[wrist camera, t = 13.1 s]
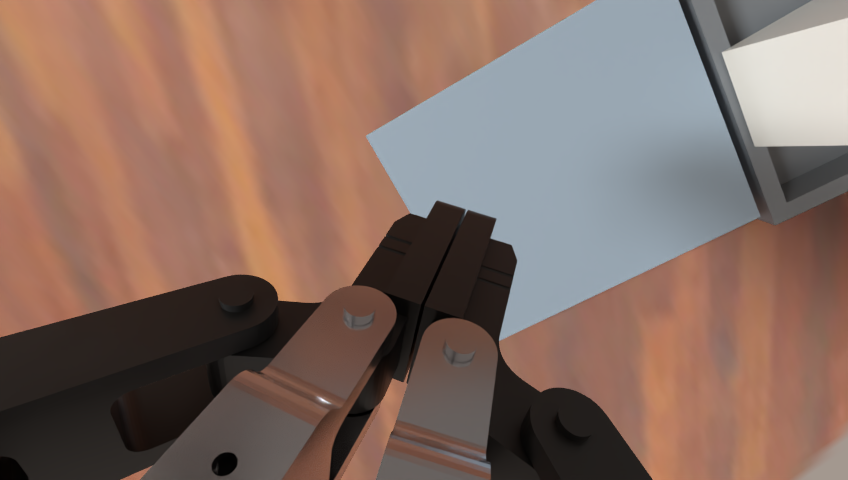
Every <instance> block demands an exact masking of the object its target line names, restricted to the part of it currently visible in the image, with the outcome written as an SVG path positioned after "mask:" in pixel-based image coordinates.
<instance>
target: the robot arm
mask: <svg viewBox="0 0 848 480" xmlns="http://www.w3.org/2000/svg"><path fill="white" fill-rule="evenodd" d="M465 212H466V209H464V208H461V207H457V206H454V205H451V204H448V203H444V202H441V201H438V200H437V201H436V202H435V204H434V206H433V208H432V209H431V211H430V213H429V214H428V216H427V218H424V217H421V216H418V215H414V214H411V213H410V214H408V215H406V216H404V217H403V218H401V219H399V220H397V221H395V222H394V224H393V225H392V227H391V228H390V230H389V231H388V233H387V234H386V237H384V239H383V240H382V242H381V243H380V244H379V247H377V249H376V250H375V252H374V253H373V255H372V256H371V258H370V259H369V261H368V262H367V264H366V265H365V267H364V268H363V270H362V271H361V273H360V274H359V276H358V277H357V278H356V280H355V281H354V283H353V284H352V286H347V287H343V288H340V289H338V290H336V291H334V292H332V293H331V294H330V295H329V296H328V297H327V298H326V299H325V300H324V301H323V302H320V303H301V302H288V301H278V296H277V292H276V290H275V288H274V287H273V286H272V285H271V284H270V283H269V282H267V281H266V280H264V279H262V278H259V277H256V276H252V275H232V276H227V277H223V278H219V279H216V280H212V281H208V282H205V283H201V284H197V285H193V286H190V287H186V288H182V289H179V290H175V291H171V292H167V293H164V294H160V295H156V296H153V297H149V298H145V299H141V300H138V301H134V302H130V303H127V304H123V305H119V306H115V307H112V308H108V309H104V310H101V311H97V312H93V313H90V314H86V315H82V316H78V317H75V318H71V319H67V320H64V321H60V322H56V323H52V324H49V325H45V326H41V327H38V328H34V329H30V330H26V331H23V332H19V333H15V334H12V335H8V336H4V337H0V480H120V479H123V478H125V477H127V476H129V475H132V474H134V473H136V472H139V471H141V470H143V469H145V468H148V467H150V466H152V465H153V466H152V467H151V468H150V469H149V470H148V471H147V473H146V474H145V475H144V476H143V477H142V478H141V479H140V480H340V479H341V478H342V476H343V474H344V472H345V470H346V469H347V467H348V465H349V463H350V461H351V459H352V458H353V456H354V454H355V452H356V450H357V449H358V447H359V445H360V443H361V441H362V439H363V438H364V436H365V434H366V432H367V430H368V429H369V427H370V425H371V423H372V421H373V419H374V418H375V416H376V414H377V412H378V410H379V408H380V403H381V401H382V399H383V397H384V396H385V393H386V391H387V389H388V387H389V385H390V382H391V380H392V378H393V379H396V380H398V381H401V382H404V380H405V377H406V375H407V373H408V370H409V368H410V370H409V374H408V379H407V384H408V385H407V388H406V391H405V394H404V397H403V401H402V404H401V407H400V410H399V414H398V417H397V420H396V423H395V426H394V429H393V431H392V432H391V434H390V437H389V440H388V443H387V446H386V449H385V452H384V455H383V459H382V462H381V465H380V468H379V471H378V474H377V478H376V480H652V478H651V477H650V475H649V474H648V473H647V471H646V470H645V468H644V467H643V465H642V464H641V463H640V461H639V460H638V458H637V457H636V456H635V454H634V453H633V451H632V450H631V449H630V447H629V446H628V444H627V443H626V442H625V440H624V439H623V437H622V436H621V435H620V433H619V432H618V430H617V429H616V428H615V426H614V425H613V423H612V422H611V421H610V419H609V418H608V416H607V415H606V414H605V413H604V411H603V410H602V409H601V408H600V407H599V406H598V405H597V404H596V403H595V402H593V401H592V400H591V399H590V398H588V397H586V396H585V395H583V394H581V393H579V392H577V391H574V390H570V389H566V388H551V389H547V390H545V391H543V392H539V391H538V390H536V389H535V388H533V387H532V386H530V385H529V384H528V383H526V382H525V381H523V380H522V379H521V378H519V377H518V376H517V375H516V374H515V373H514V372H513V371H512V370H511V369H510V368H509V367H508V366H507V364H506V363H505V361H504V359H503V357H502V355H501V352H500V348H499V337H500V333H501V328H502V324H503V320H504V316H505V311H506V307H507V303H508V299H509V294H510V289H511V286H512V282H513V277H514V273H515V269H516V265H517V258H516V255H515V253H514V250H513V247H512V245H510V244H507V243H504V242H500V241H497V240H494V239H491V236H492V232H493V229H494V226H495V223H496V219H497V218H493V217H490V216H487V215H484V214H480V213H477V212H474V211H471V210H468V211H467V212H466V215H465ZM410 365H411V366H410ZM193 368H194V369H193ZM154 382H155V383H154ZM140 387H141V388H140Z"/></svg>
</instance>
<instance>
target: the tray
mask: <svg viewBox="0 0 848 480" xmlns="http://www.w3.org/2000/svg"><path fill="white" fill-rule="evenodd" d="M810 1H812V0H679V3H680V5H681V8H682V11H683V13H684V16H685V19H686V21H687V24H688V27H689V29H690V32H691V34H692V37H693V40H694V42H695V45H696V48H697V50H698V53H699V56H700V58H701V61H702V63H703V66H704V69H705V71H706V74H707V77H708V79H709V82H710V85H711V87H712V90H713V92H714V95H715V98H716V100H717V103H718V106H719V108H720V111H721V114H722V116H723V119H724V121H725V124H726V127H727V129H728V132H729V135H730V137H731V140H732V143H733V145H734V148H735V150H736V153H737V156H738V158H739V161H740V164H741V166H742V169H743V172H744V174H745V177H746V179H747V182H748V185H749V187H750V190H751V193H752V195H753V198H754V201H755V203H756V206H757V209H758V211H759V214H760V216H761V217H759V218H757V219H759V220H762V221H764V222H767V223H770V224H773V225H777V224H779V223H781V222H783V221H786V220H788V219H790V218H792V217H794V216H796V215H798V214H800V213H803V212H805V211H807V210H809V209H811V208H813V207H815V206H818V205H820V204H822V203H824V202H826V201H828V200H830V199H832V198H835V197H837V196H839V195H841V194H843V193H845V192H847V191H848V145H840V146H767V147H755V146H754V143H753V140H752V138H751V135H750V132H749V129H748V126H747V123H746V120H745V118H744V115H743V112H742V109H741V106H740V103H739V101H738V98H737V95H736V92H735V89H734V86H733V83H732V81H731V78H730V75H729V72H728V69H727V66H726V64H725V61H724V58H723V55H722V52H723V51H725V50H726V49H728V48H730V47H732V46H733V45H735V44H737V43H739V42H740V41H742V40H744V39H746V38H747V37H749V36H751V35H753V34H754V33H756V32H758V31H759V30H761V29H763V28H765V27H766V26H768V25H770V24H772V23H773V22H775V21H777V20H779V19H780V18H782V17H784V16H786V15H787V14H789V13H791V12H793V11H794V10H796V9H798V8H799V7H801V6H803V5H805V4H806V3H808V2H810Z"/></svg>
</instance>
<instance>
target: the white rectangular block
mask: <svg viewBox="0 0 848 480" xmlns="http://www.w3.org/2000/svg"><path fill="white" fill-rule="evenodd" d="M722 55H723V58H724V61H725V64H726V66H727V69H728V72H729V75H730V78H731V81H732V83H733V86H734V89H735V92H736V95H737V98H738V101H739V103H740V106H741V109H742V112H743V115H744V118H745V120H746V123H747V126H748V129H749V132H750V135H751V138H752V140H753V143H754V146H755V147H767V146H840V145H848V0H812V1H810V2H808V3H806V4H805V5H803V6H801V7H799V8H798V9H796V10H794V11H793V12H791V13H789V14H787V15H786V16H784V17H782V18H780V19H779V20H777V21H775V22H773V23H772V24H770V25H768V26H766V27H765V28H763V29H761V30H759V31H758V32H756V33H754V34H753V35H751V36H749V37H747V38H746V39H744V40H742V41H740V42H739V43H737V44H735V45H733V46H732V47H730V48H728V49H726V50H725V51H723V52H722Z"/></svg>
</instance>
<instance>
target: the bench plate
mask: <svg viewBox="0 0 848 480" xmlns="http://www.w3.org/2000/svg"><path fill="white" fill-rule="evenodd" d="M366 137H367V139H368V141H369V143H370V144H371V146H372V148H373V149H374V151H375V153H376V155H377V156H378V158H379V160H380V161H381V163H382V165H383V167H384V168H385V170H386V172H387V173H388V175H389V177H390V179H391V180H392V182H393V184H394V185H395V187H396V189H397V191H398V192H399V194H400V196H401V198H402V199H403V201H404V203H405V204H406V206H407V208H408V210H409V211H410V213H411V214H414V215H418V216H421V217H424V218H427V216H428V214H429V213H430V211H431V209H432V208H433V206H434V204H435V202H436V201H437V200H438V201H441V202H444V203H448V204H451V205H454V206H457V207H461V208H464V209H466V212H467V211H468V210H471V211H474V212H477V213H480V214H484V215H487V216H490V217H493V218H497V219H496V223H495V226H494V229H493V232H492V236H491V239H494V240H497V241H500V242H504V243H507V244H510V245H512V247H513V250H514V253H515V255H516V258H517V265H516V269H515V273H514V277H513V282H512V286H511V289H510V294H509V299H508V303H507V307H506V311H505V316H504V320H503V324H502V328H501V333H500V337H499V341H500V340H502V339H504V338H506V337H508V336H510V335H512V334H515V333H517V332H519V331H521V330H523V329H525V328H527V327H529V326H531V325H534V324H536V323H538V322H540V321H542V320H544V319H546V318H548V317H550V316H553V315H555V314H557V313H559V312H561V311H563V310H565V309H567V308H569V307H572V306H574V305H576V304H578V303H580V302H582V301H584V300H586V299H588V298H590V297H593V296H595V295H597V294H599V293H601V292H603V291H605V290H607V289H609V288H612V287H614V286H616V285H618V284H620V283H622V282H624V281H626V280H628V279H631V278H633V277H635V276H637V275H639V274H641V273H643V272H645V271H647V270H649V269H652V268H654V267H656V266H658V265H660V264H662V263H664V262H666V261H668V260H671V259H673V258H675V257H677V256H679V255H681V254H683V253H685V252H687V251H690V250H692V249H694V248H696V247H698V246H700V245H702V244H704V243H706V242H709V241H711V240H713V239H715V238H717V237H719V236H721V235H723V234H725V233H727V232H730V231H732V230H734V229H736V228H738V227H740V226H742V225H744V224H746V223H749V222H751V221H753V220H755V219H757V218H759V217H761V216H760V214H759V211H758V209H757V206H756V203H755V201H754V198H753V195H752V193H751V190H750V187H749V185H748V182H747V179H746V177H745V174H744V172H743V169H742V166H741V164H740V161H739V158H738V156H737V153H736V150H735V148H734V145H733V143H732V140H731V137H730V135H729V132H728V129H727V127H726V124H725V121H724V119H723V116H722V114H721V111H720V108H719V106H718V103H717V100H716V98H715V95H714V92H713V90H712V87H711V85H710V82H709V79H708V77H707V74H706V71H705V69H704V66H703V63H702V61H701V58H700V56H699V53H698V50H697V48H696V45H695V42H694V40H693V37H692V34H691V32H690V29H689V27H688V24H687V21H686V19H685V16H684V13H683V11H682V8H681V5H680V3H679V0H596V1H594V2H592V3H591V4H589V5H587V6H586V7H584V8H582V9H581V10H579V11H577V12H576V13H574V14H572V15H570V16H569V17H567V18H565V19H564V20H562V21H560V22H559V23H557V24H555V25H553V26H552V27H550V28H548V29H547V30H545V31H543V32H542V33H540V34H538V35H536V36H535V37H533V38H531V39H530V40H528V41H526V42H525V43H523V44H521V45H519V46H518V47H516V48H514V49H513V50H511V51H509V52H508V53H506V54H504V55H502V56H501V57H499V58H497V59H496V60H494V61H492V62H491V63H489V64H487V65H485V66H484V67H482V68H480V69H479V70H477V71H475V72H474V73H472V74H470V75H468V76H467V77H465V78H463V79H462V80H460V81H458V82H457V83H455V84H453V85H451V86H450V87H448V88H446V89H445V90H443V91H441V92H440V93H438V94H436V95H434V96H433V97H431V98H429V99H428V100H426V101H424V102H423V103H421V104H419V105H417V106H416V107H414V108H412V109H411V110H409V111H407V112H406V113H404V114H402V115H400V116H399V117H397V118H395V119H394V120H392V121H390V122H389V123H387V124H385V125H383V126H382V127H380V128H378V129H377V130H375V131H373V132H372V133H370V134H368V135H366ZM466 212H465V215H466Z"/></svg>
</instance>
